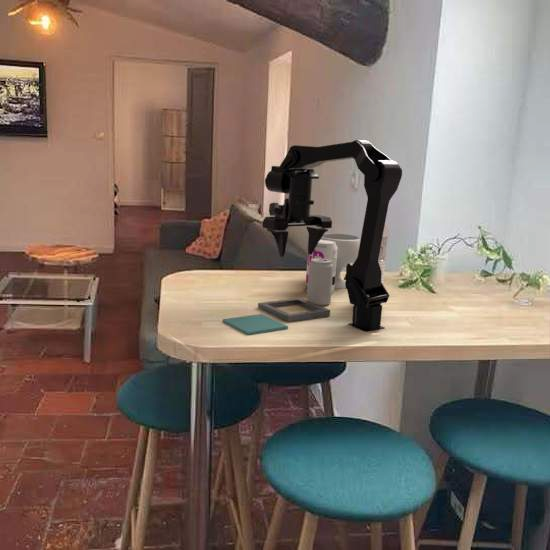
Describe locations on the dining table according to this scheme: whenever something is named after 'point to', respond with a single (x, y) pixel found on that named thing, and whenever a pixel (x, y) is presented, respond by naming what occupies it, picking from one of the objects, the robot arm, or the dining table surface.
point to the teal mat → (255, 324)
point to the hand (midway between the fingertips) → (296, 255)
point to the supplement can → (324, 257)
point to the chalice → (343, 253)
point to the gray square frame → (314, 313)
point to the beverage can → (320, 281)
